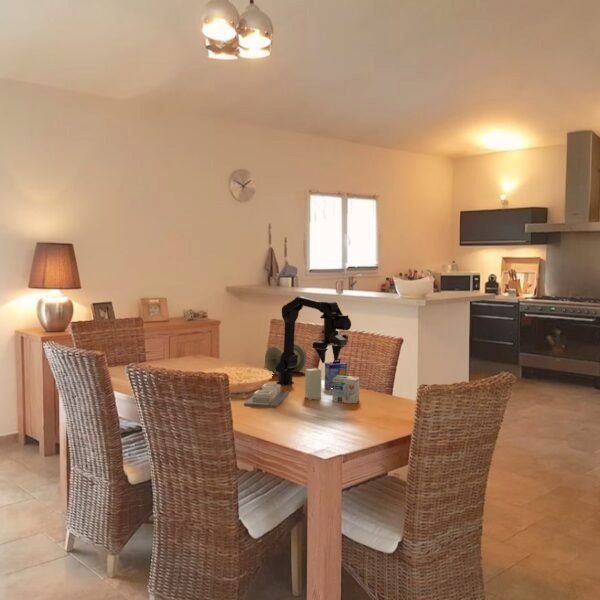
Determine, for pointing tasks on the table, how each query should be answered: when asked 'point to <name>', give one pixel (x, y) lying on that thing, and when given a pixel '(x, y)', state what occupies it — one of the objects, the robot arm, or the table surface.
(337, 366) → the ink cartridge box
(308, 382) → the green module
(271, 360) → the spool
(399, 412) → the table surface
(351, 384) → the light bulb box
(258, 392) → the rail board
